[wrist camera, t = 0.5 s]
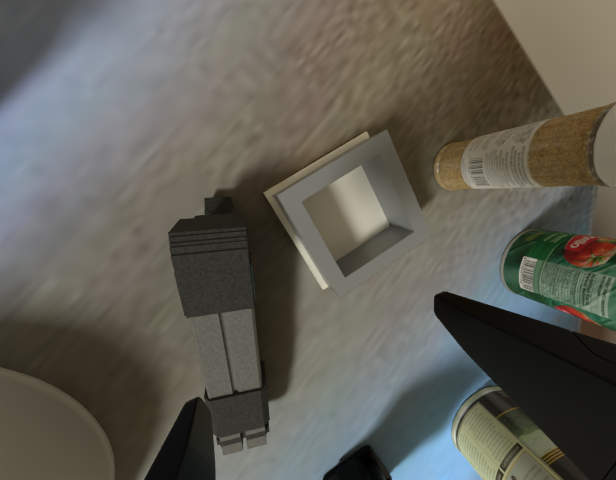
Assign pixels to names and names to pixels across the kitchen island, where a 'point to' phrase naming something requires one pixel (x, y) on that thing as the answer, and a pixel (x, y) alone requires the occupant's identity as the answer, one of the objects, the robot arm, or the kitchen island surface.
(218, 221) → the gun
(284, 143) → the kitchen island surface
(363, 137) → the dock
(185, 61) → the kitchen island surface
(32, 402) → the kettle
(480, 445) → the coffee can
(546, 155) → the sprinkles bottle
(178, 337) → the kitchen island surface
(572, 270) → the canned tomato
